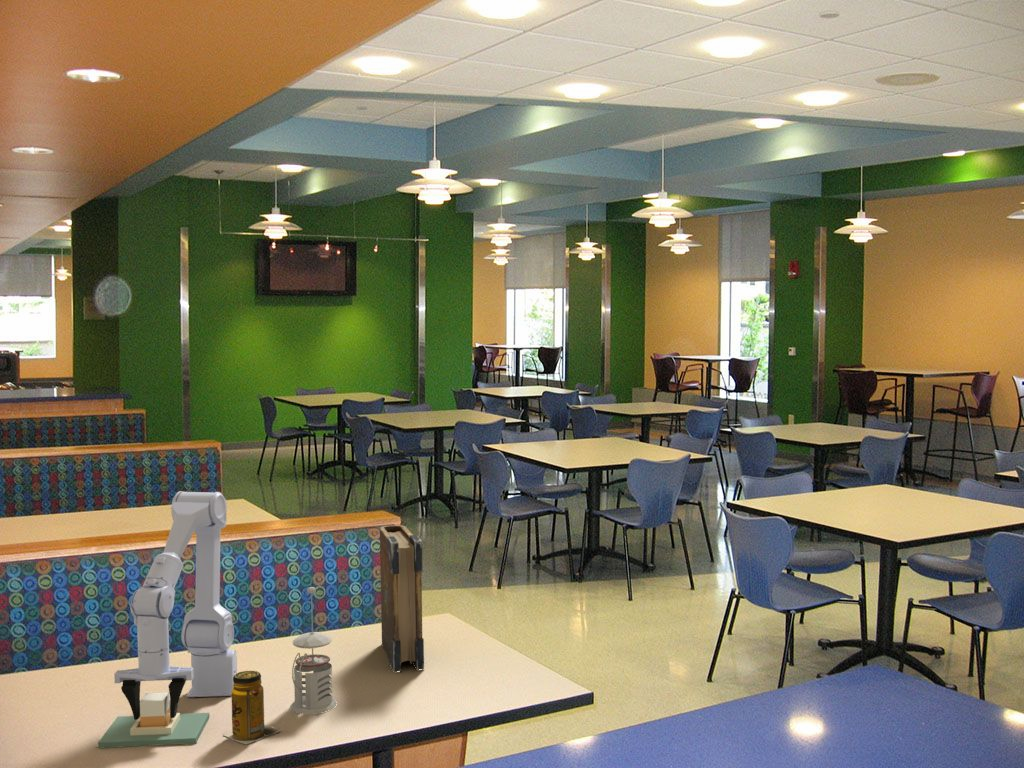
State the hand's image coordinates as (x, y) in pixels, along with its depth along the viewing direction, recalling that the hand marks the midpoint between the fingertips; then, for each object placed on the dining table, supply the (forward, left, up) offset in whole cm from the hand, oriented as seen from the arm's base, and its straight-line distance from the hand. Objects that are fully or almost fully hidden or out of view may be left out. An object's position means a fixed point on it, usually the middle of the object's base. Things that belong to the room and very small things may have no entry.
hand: (155, 716), depth 201 cm
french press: (-29, -10, -3) cm, 31 cm away
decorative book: (-47, -41, -3) cm, 62 cm away
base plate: (0, 0, -3) cm, 3 cm away
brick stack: (0, 0, -2) cm, 2 cm away
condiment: (-19, +3, -3) cm, 20 cm away
